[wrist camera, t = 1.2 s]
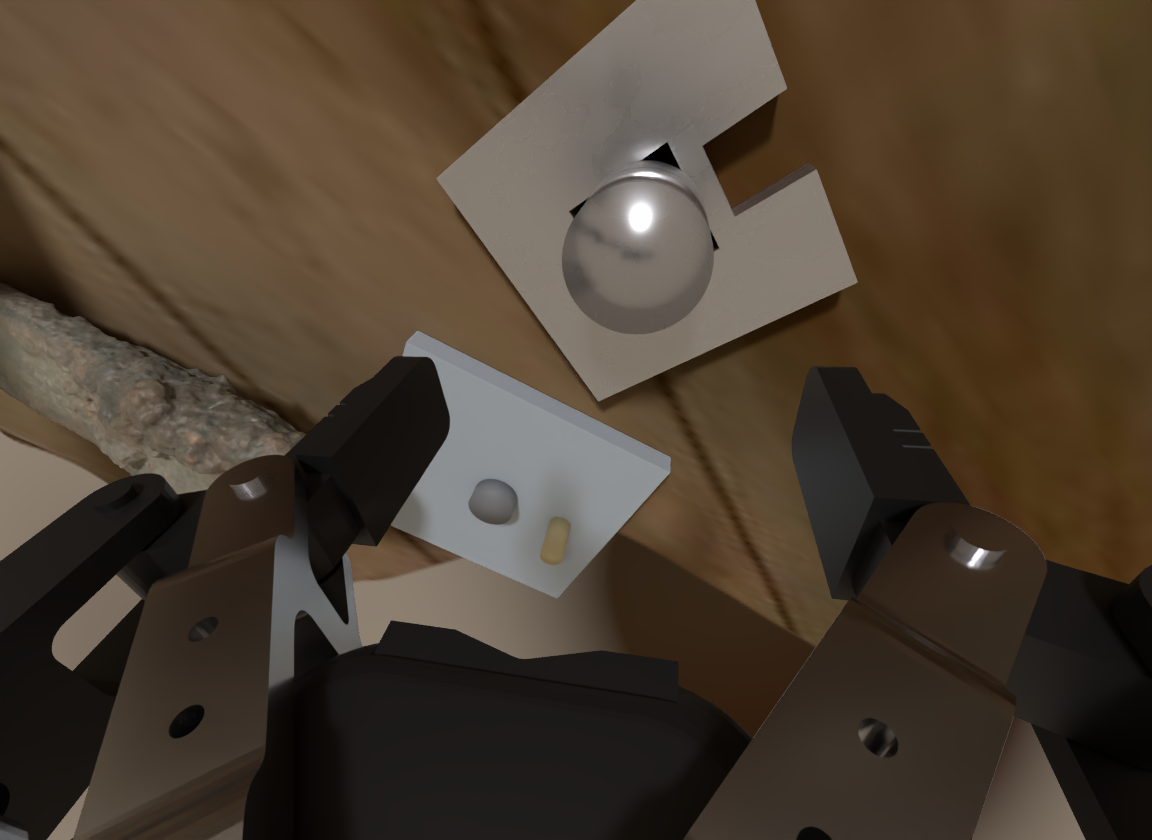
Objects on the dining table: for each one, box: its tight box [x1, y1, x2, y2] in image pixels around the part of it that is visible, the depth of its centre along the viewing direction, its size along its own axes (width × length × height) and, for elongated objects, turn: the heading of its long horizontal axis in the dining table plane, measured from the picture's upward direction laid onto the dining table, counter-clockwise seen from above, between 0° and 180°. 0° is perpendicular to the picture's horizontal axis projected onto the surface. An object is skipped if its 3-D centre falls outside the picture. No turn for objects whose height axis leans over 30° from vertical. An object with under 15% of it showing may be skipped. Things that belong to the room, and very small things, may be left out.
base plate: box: [391, 331, 671, 598], centre depth 33 cm, size 18×18×4 cm
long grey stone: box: [0, 283, 306, 494], centre depth 29 cm, size 35×5×10 cm
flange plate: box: [436, 0, 858, 401], centre depth 20 cm, size 14×14×7 cm
